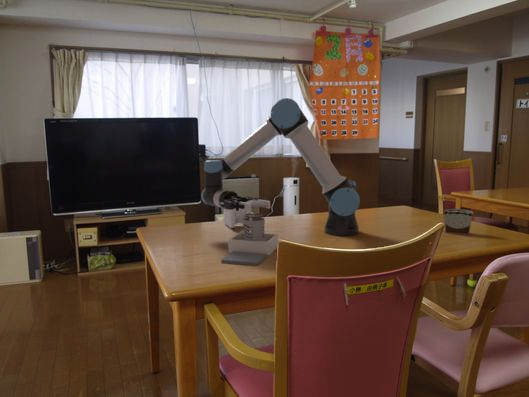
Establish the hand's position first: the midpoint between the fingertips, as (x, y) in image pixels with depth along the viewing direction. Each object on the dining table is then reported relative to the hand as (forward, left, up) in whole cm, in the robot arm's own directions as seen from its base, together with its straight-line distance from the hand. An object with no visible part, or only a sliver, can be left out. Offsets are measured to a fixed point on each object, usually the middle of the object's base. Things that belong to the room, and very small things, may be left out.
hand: (260, 206), depth 155 cm
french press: (+4, -3, -14) cm, 15 cm away
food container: (-73, -55, -18) cm, 93 cm away
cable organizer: (+26, -42, -18) cm, 52 cm away
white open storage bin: (+4, -3, -17) cm, 18 cm away
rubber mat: (+3, +10, -17) cm, 20 cm away
